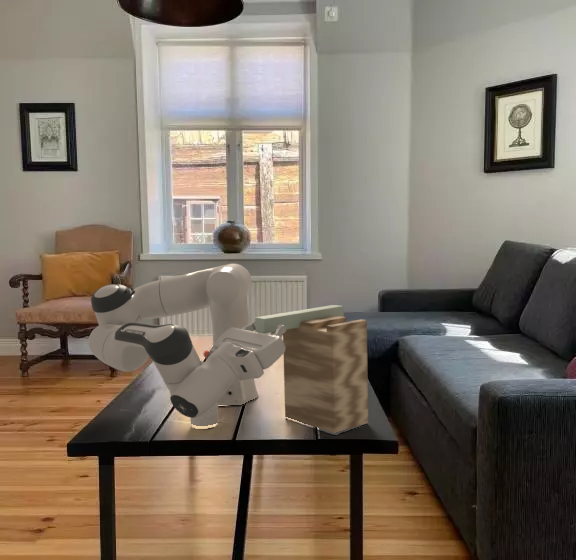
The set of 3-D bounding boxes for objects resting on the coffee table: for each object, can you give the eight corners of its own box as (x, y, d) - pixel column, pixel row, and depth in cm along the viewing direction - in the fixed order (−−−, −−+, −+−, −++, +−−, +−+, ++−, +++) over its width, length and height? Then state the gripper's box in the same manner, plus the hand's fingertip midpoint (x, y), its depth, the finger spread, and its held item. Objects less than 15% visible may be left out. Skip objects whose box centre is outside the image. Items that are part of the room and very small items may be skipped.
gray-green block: (264, 333, 147) (264, 318, 146) (255, 331, 149) (255, 317, 149) (343, 319, 164) (343, 306, 164) (334, 317, 167) (334, 304, 167)
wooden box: (334, 436, 148) (332, 326, 145) (285, 419, 161) (282, 318, 158) (368, 424, 155) (366, 320, 153) (318, 408, 169) (316, 312, 166)
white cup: (221, 420, 162) (219, 382, 161) (218, 430, 154) (217, 391, 153) (190, 421, 162) (189, 383, 161) (187, 431, 154) (185, 392, 153)
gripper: (212, 364, 152) (249, 330, 159) (264, 379, 137) (303, 340, 144) (200, 344, 149) (239, 310, 156) (252, 357, 134) (293, 318, 141)
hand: (270, 324), depth 150 cm, fingers open, 8 cm apart
